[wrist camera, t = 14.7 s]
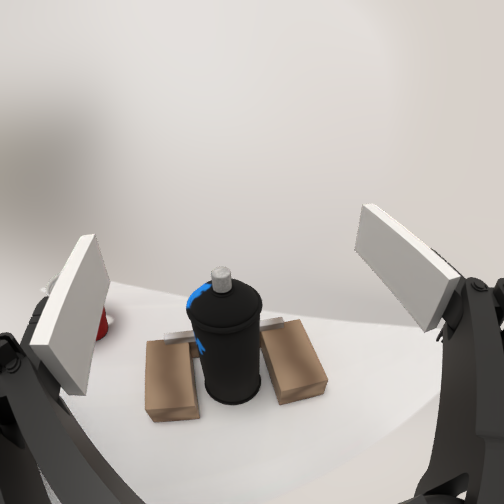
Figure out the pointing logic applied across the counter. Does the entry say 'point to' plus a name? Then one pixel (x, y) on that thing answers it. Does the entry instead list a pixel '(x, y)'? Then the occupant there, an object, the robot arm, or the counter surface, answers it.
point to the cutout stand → (185, 349)
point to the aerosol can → (227, 336)
